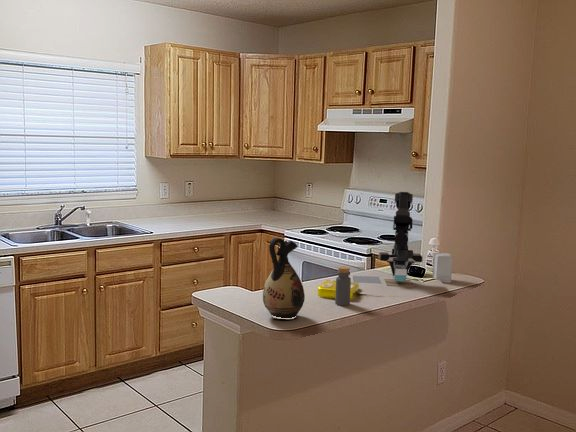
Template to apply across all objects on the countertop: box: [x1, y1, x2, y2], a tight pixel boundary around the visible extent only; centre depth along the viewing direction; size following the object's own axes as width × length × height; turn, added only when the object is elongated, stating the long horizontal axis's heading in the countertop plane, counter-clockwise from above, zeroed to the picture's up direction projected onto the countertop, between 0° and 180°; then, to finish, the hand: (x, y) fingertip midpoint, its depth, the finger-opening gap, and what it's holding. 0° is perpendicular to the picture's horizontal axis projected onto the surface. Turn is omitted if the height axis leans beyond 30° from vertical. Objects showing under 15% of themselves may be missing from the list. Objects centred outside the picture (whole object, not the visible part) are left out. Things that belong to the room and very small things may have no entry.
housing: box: [391, 265, 408, 282], centre depth 266 cm, size 8×5×6 cm, turn 178°
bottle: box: [334, 265, 352, 307], centre depth 236 cm, size 6×6×15 cm
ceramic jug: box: [262, 237, 306, 318], centre depth 216 cm, size 17×15×30 cm
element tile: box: [317, 279, 360, 301], centre depth 250 cm, size 15×15×5 cm
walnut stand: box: [383, 278, 415, 288], centre depth 266 cm, size 12×12×2 cm
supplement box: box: [432, 252, 454, 284], centre depth 278 cm, size 7×7×13 cm
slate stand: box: [352, 275, 382, 284], centre depth 271 cm, size 12×12×2 cm
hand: (399, 275), depth 266 cm, fingers closed on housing, 5 cm apart
